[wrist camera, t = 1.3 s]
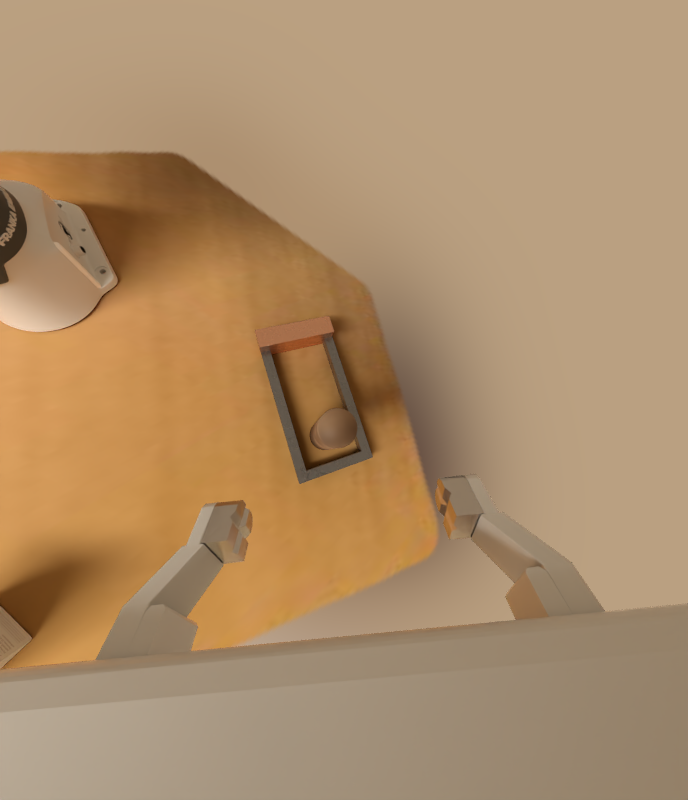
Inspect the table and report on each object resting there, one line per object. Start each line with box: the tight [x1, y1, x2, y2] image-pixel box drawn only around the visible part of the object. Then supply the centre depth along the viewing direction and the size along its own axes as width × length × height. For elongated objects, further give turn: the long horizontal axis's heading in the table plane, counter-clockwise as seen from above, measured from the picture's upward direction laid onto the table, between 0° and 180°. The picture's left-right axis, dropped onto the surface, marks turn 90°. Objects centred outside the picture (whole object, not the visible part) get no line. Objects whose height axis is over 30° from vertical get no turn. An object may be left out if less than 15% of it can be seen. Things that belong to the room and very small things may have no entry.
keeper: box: [310, 408, 357, 450], centre depth 38 cm, size 5×5×12 cm
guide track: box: [255, 316, 373, 484], centre depth 43 cm, size 25×12×4 cm, turn 19°
